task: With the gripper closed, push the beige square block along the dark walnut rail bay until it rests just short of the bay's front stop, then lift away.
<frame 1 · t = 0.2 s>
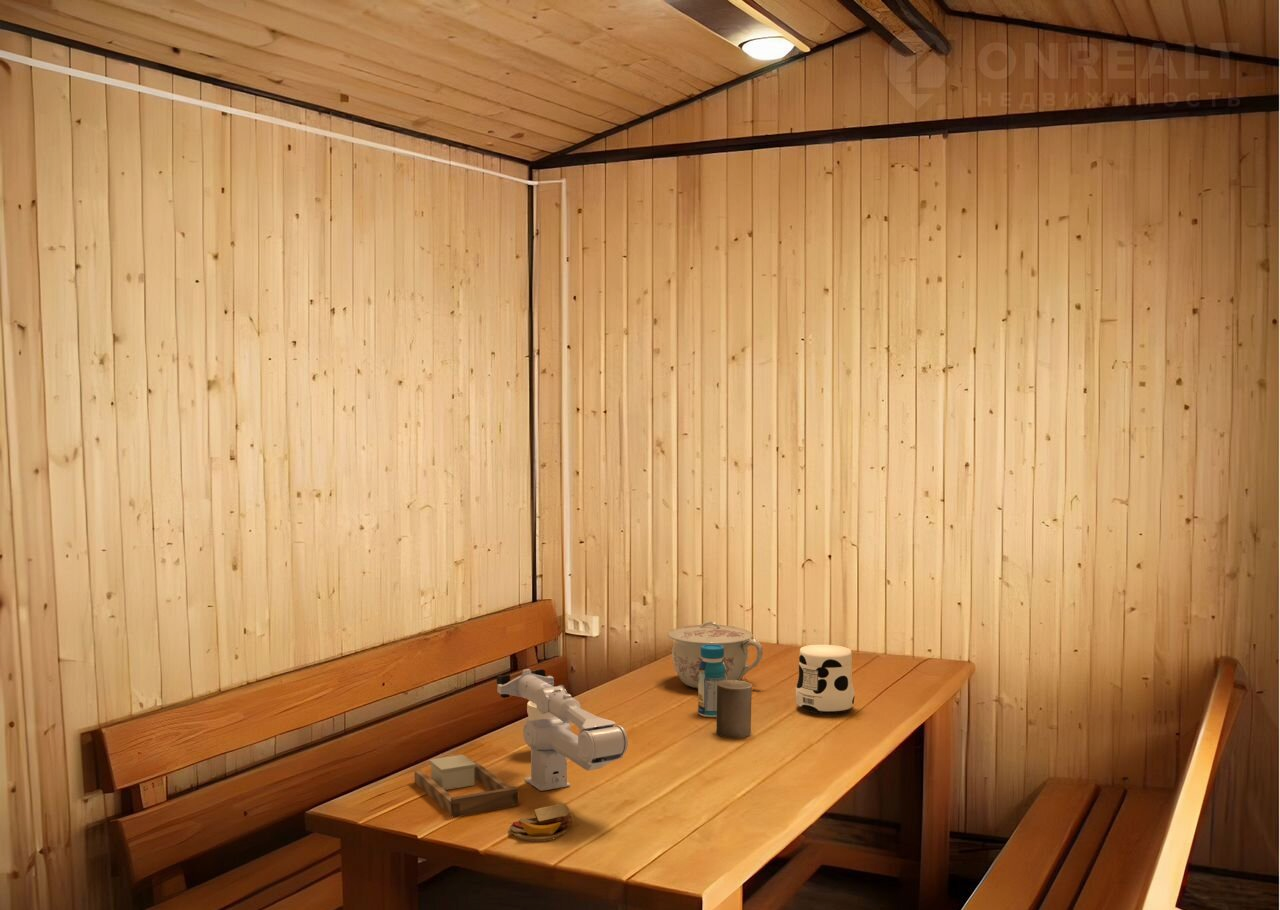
hand: (511, 677, 301), 22 cm above the table, tool horizontal, fingers open, 7 cm apart
bay: (463, 792, 278), on the table
pillar candle: (734, 733, 327), on the table
chamber pot: (710, 686, 380), on the table
milk container: (824, 710, 352), on the table
toy sandwich meal: (541, 832, 254), on the table
foam cup: (545, 753, 309), on the table
beige square block: (452, 772, 284), point 3 cm above the table, slide at 0.0 cm
beverage bottle: (711, 714, 346), on the table
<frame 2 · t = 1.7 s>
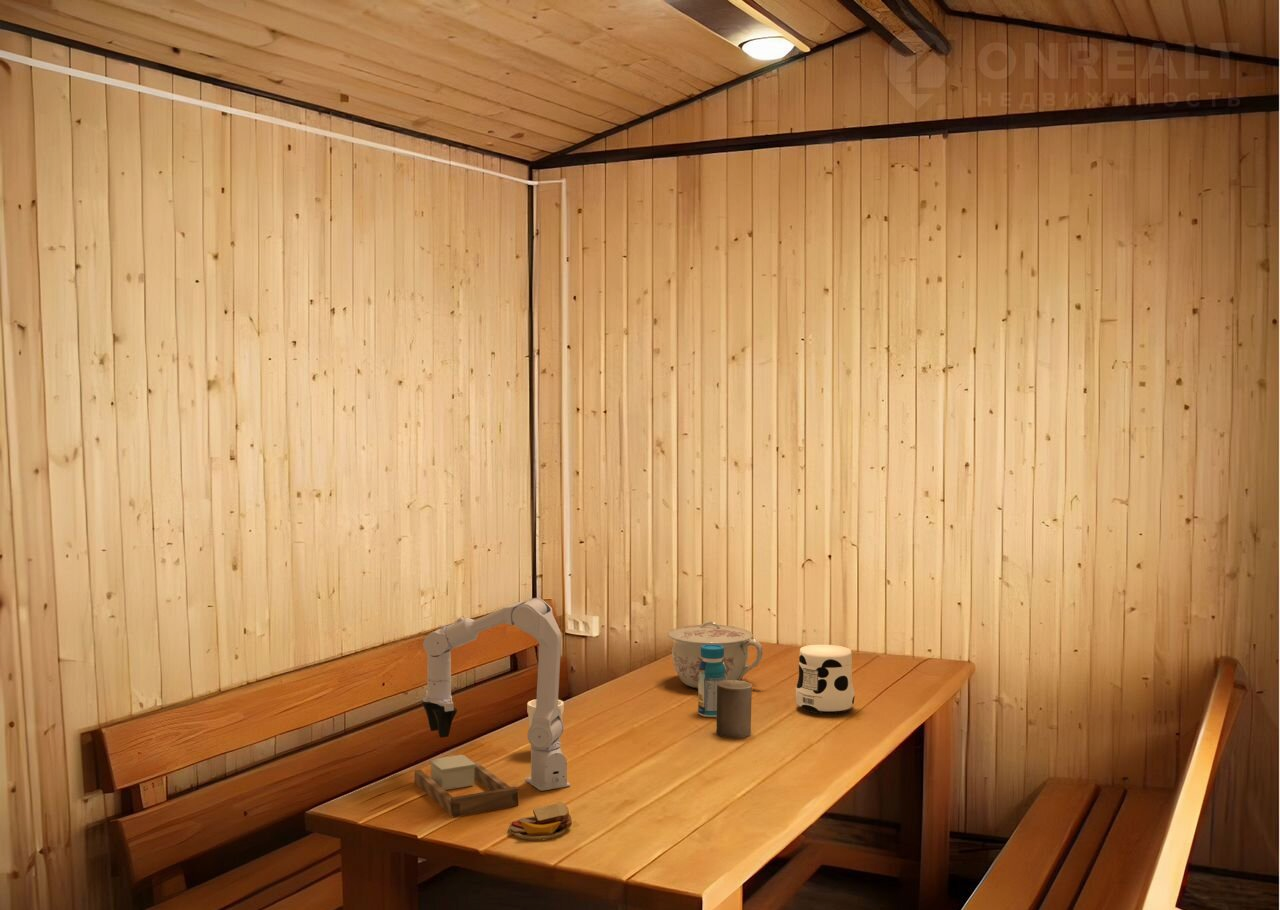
hand: (439, 733, 292), 10 cm above the table, tool pointing down, fingers open, 6 cm apart
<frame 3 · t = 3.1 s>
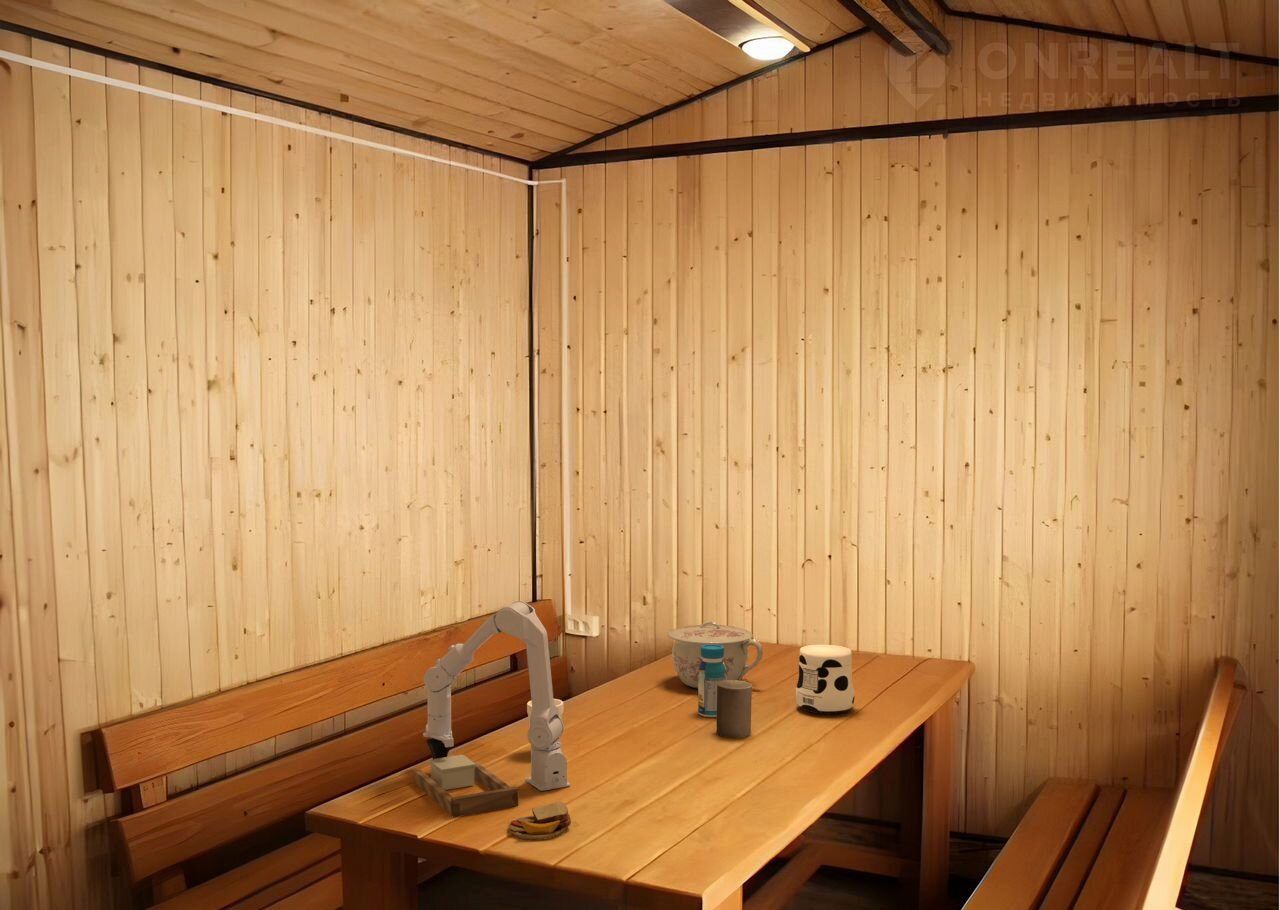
hand: (439, 768, 292), 1 cm above the table, tool pointing down, fingers closed
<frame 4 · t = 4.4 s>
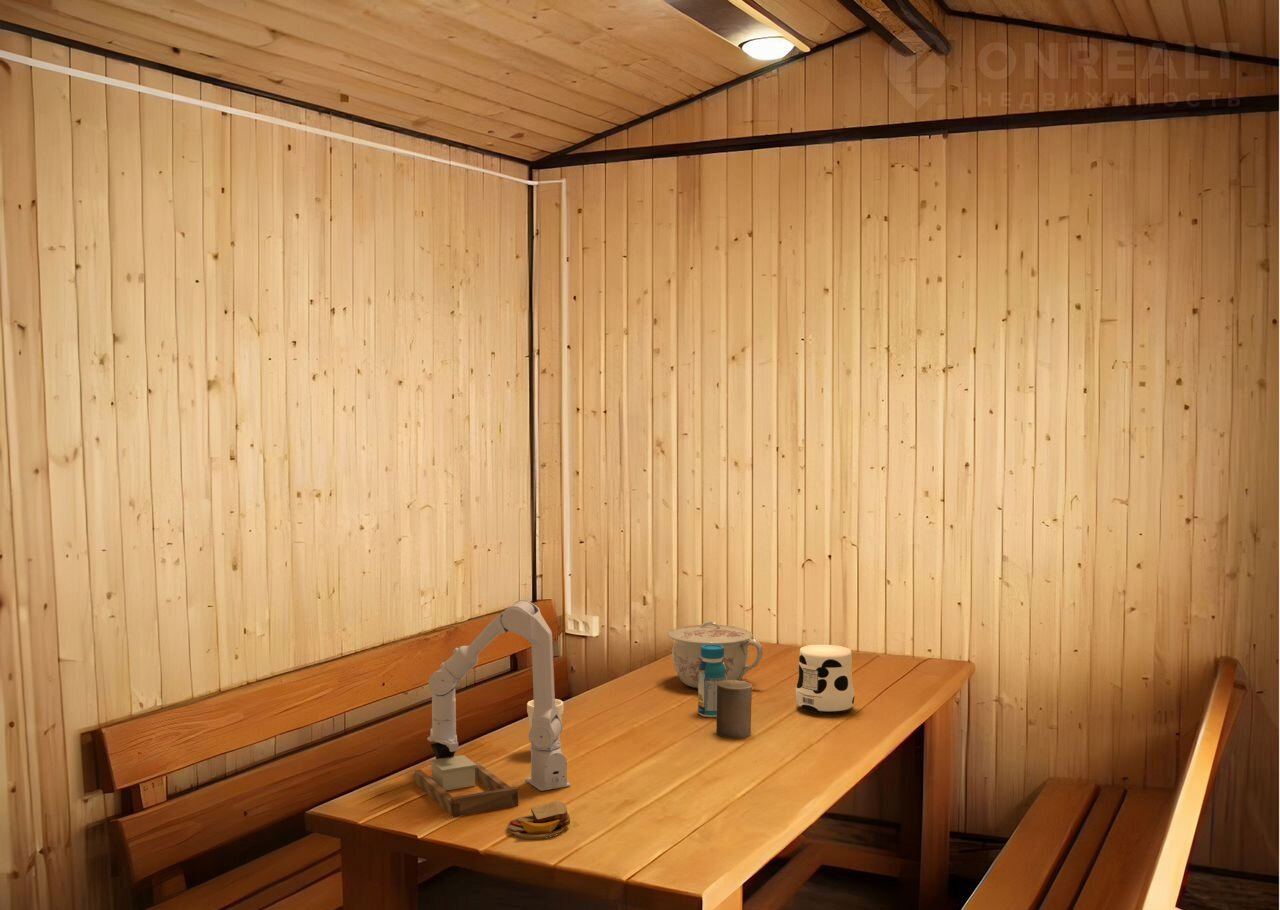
hand: (444, 772, 289), 1 cm above the table, tool pointing down, fingers closed
beige square block: (453, 772, 284), point 3 cm above the table, slide at 0.5 cm, touching gripper
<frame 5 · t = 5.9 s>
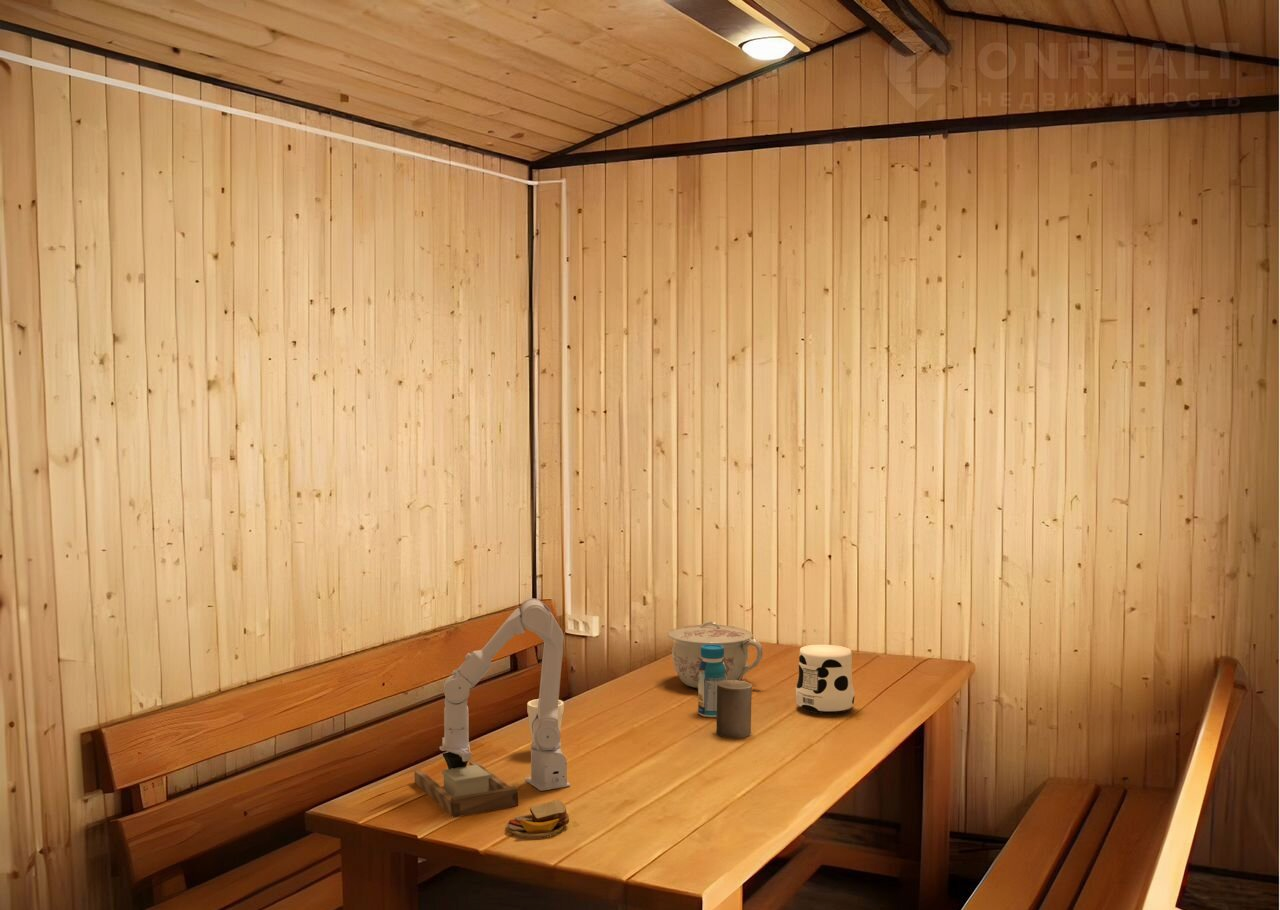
hand: (456, 783, 282), 1 cm above the table, tool pointing down, fingers closed
beige square block: (466, 783, 276), point 3 cm above the table, slide at 9.0 cm, touching gripper
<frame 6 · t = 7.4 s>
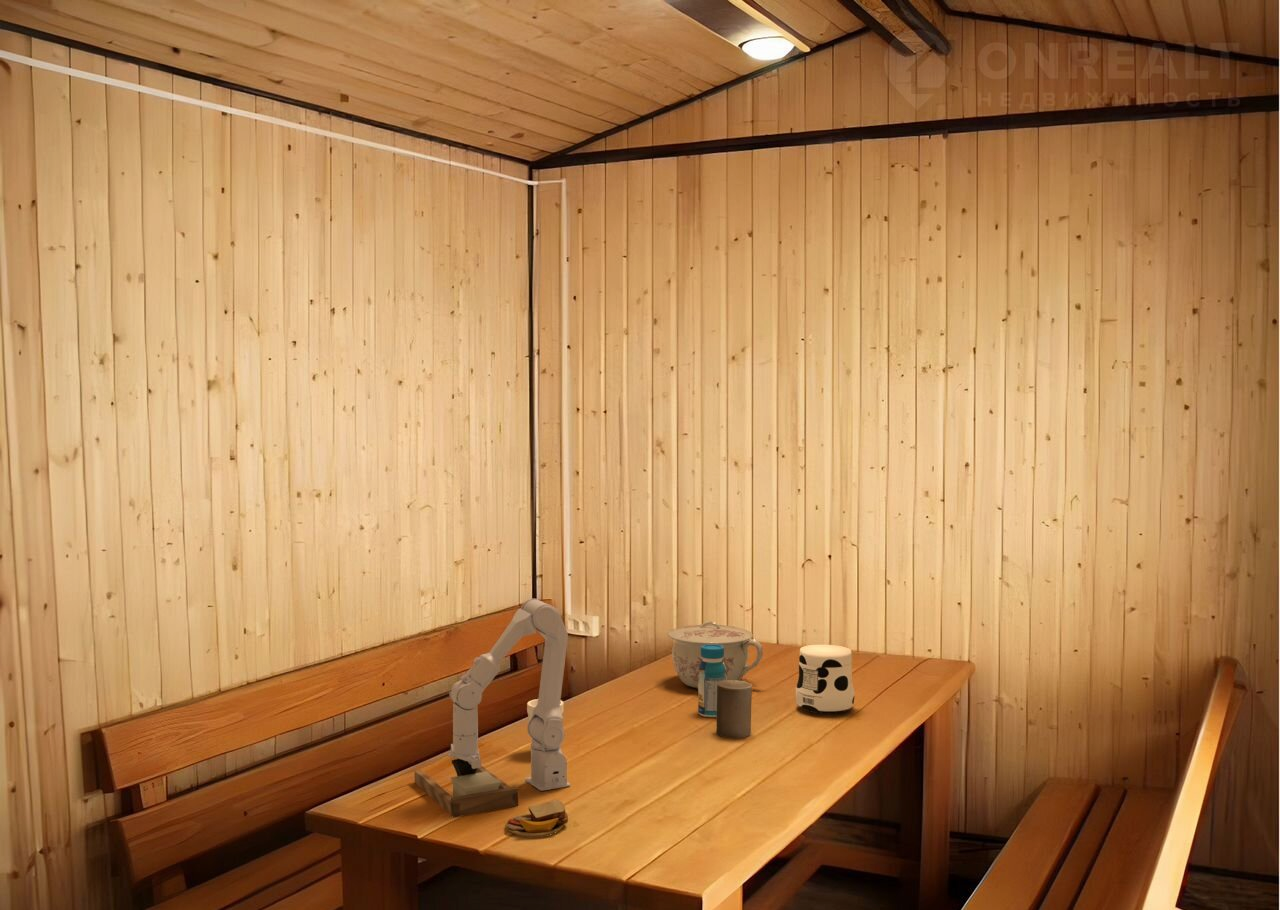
hand: (465, 790, 277), 1 cm above the table, tool pointing down, fingers closed
beige square block: (475, 790, 271), point 3 cm above the table, slide at 15.0 cm, touching gripper
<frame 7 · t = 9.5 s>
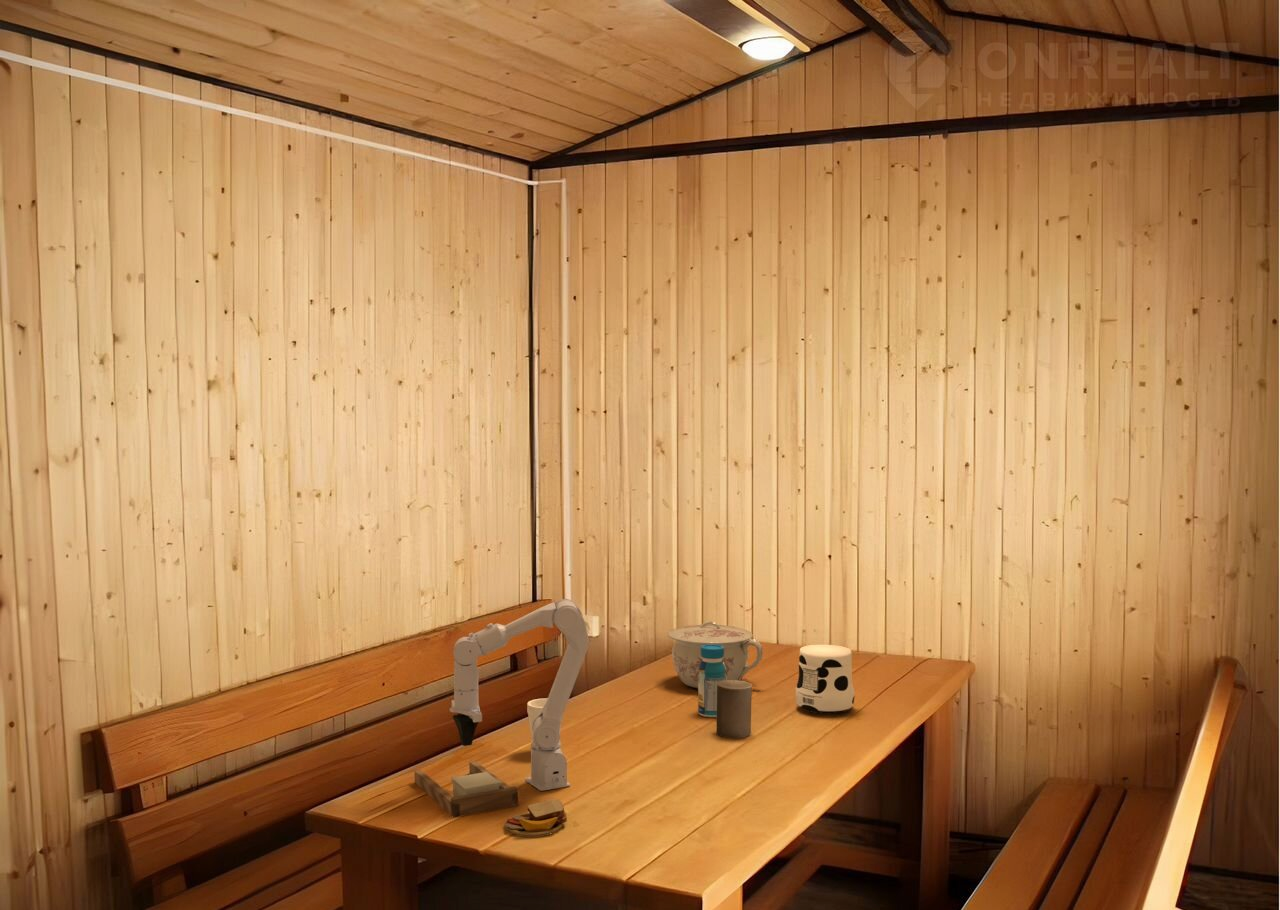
hand: (466, 744, 283), 10 cm above the table, tool pointing down, fingers closed
beige square block: (475, 791, 271), point 3 cm above the table, slide at 15.2 cm
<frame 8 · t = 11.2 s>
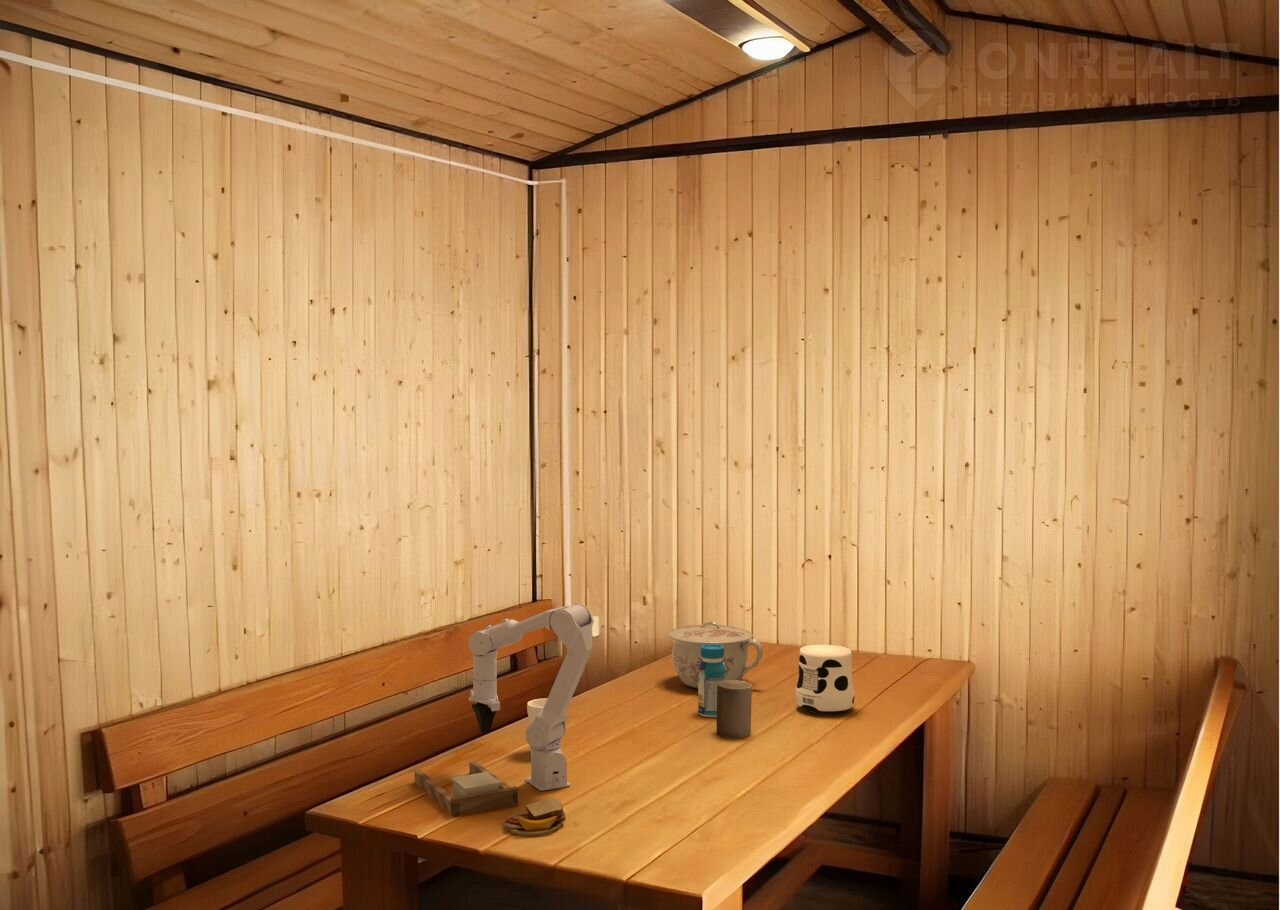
hand: (485, 733, 292), 10 cm above the table, tool pointing down, fingers closed
at the end: beige square block slide at 15.2 cm; the gripper is holding nothing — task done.
